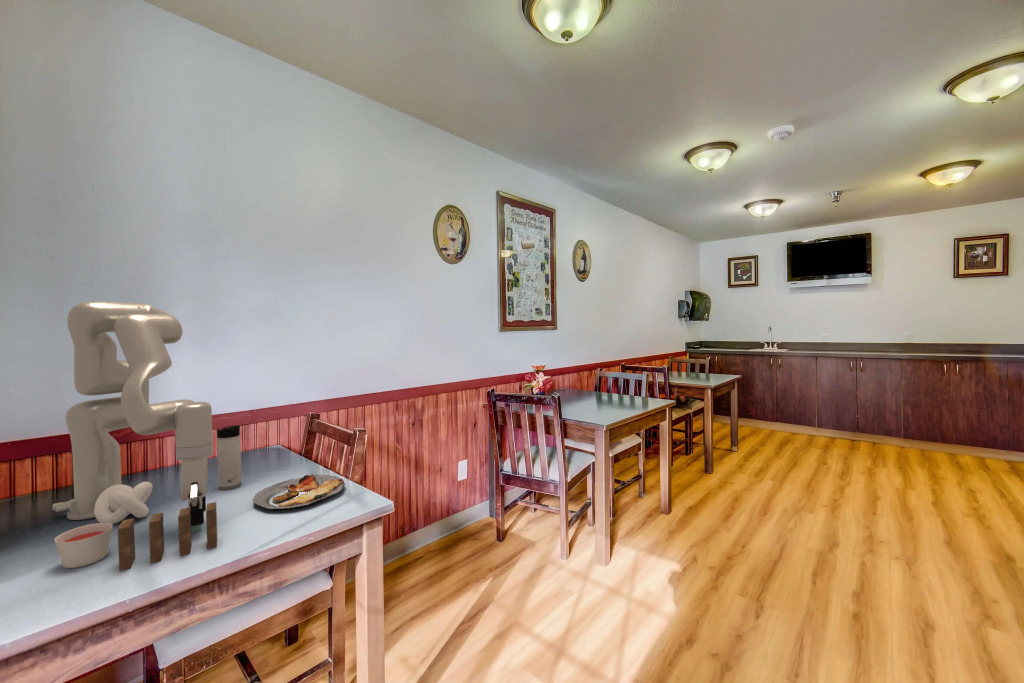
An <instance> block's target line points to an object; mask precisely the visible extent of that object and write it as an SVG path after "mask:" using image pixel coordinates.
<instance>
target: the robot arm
mask: <svg viewBox="0 0 1024 683" xmlns="http://www.w3.org/2000/svg"><path fill="white" fill-rule="evenodd" d="M66 320H67V321H66V323H67V329H68V332H69V335H70V338H71V340H72V344H73V352H74V353H73V382H74V384H73V385H74V388H75V390H76V392H77V393H79V394H80V395H83V396H87V397H88V396H100V395H101V396H103V395H111V394H119V393H121V394H120V396H116V397H106V398H98V399H90V400H86V401H81V402H79V403H75V404H74V405H72V406H70V407H69V408H68V409H67V410H66V412H65V413H66V414H65V422H66V427H67V430H68V433H69V437H70V442H71V452H72V472H73V474H72V475H73V476H72V477H73V494H74V498H72V499H69V501H61V502H56V503H53V504H52V505H51V506H52V511H53V512H54V511H55V512H56V513H58V512H63V511H67V510H68V512H67V513H66V518H67V519H68V520H70V521H71V520H74V521H80V520H82V521H83V520H89V519H96V517H95V514H94V507H95V503H96V501H97V499H98V497H99V496H100V494H101V493H102V492H103V491H104V490H106V489H107V488H109V487H111V486H114V485H119V484H122V468H121V467H122V466H121V465H122V464H121V462H122V461H121V448H120V443H119V442H118V441H117V439H116V438H114V437H113V436H112V435H111V434H110V432H113V431H118V430H122V429H127V428H131V430H132V431H133V432H134V433H136V434H137V435H140V436H152V435H155V434H161V433H164V432H170V431H174V434H175V437H174V438H175V460H176V461H178V462H181V464H180V500H181V501H182V502H185V501H186V500H187V508H188V507H190V513H191V528H192V526H196V525H201V524H202V525H203V524H205V513H206V507H207V502H206V501H207V500H206V499H207V498H206V494H207V490H208V489H207V488H208V478H209V461H208V458H209V457H211V456H213V455H214V446H213V444H214V441H213V440H214V438H213V437H214V436H213V413H212V412H213V411H212V405H211V404H210V403H209V402H207V401H194V400H190V399H184V398H183V399H176V400H171V401H162V402H157V403H150V379H152V378H155V377H156V376H158V375H160V374H163V373H164V372H167V370H169V369H170V368H171V367H172V364H173V362H172V359H171V356H170V354H169V352H168V349H167V348H166V345H168V344H171V345H172V344H175V343H177V342H179V341H180V340H181V339H182V336H183V327H182V324H181V322H180V321H179V319H178V318H177V317H176V316H174V315H173V314H171V313H170V312H167V311H164V310H163V309H161V308H158V307H155V306H153V305H150V304H147V303H137V302H120V301H105V300H103V301H101V300H99V301H98V300H97V301H95V300H94V301H93V300H92V301H84V302H83V301H82V302H79V303H76V304H75V305H74V306H72V307H71V309H69V312H68V314H67V319H66ZM108 333H115V336H116V338H117V340H118V343H119V346H120V348H121V350H122V353H123V354H124V355H123V356H124V358H125V359H118V356H117V353H118V347H117V344H116V342H115V340H114V339H113V338H112V337H111V336H110V335H109V334H108ZM199 494H200V496H197V495H199ZM197 500H198V501H197ZM109 508H110V511H111V512H112V513H113V511H112V510H111V507H110V506H109ZM204 512H205V513H204Z"/></svg>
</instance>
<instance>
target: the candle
mask: <svg viewBox="0 0 1024 683" xmlns="http://www.w3.org/2000/svg"><path fill="white" fill-rule="evenodd" d="M113 527H114V524H111V523H100V522H98V523H97V522H96V523H90V524H87V525H82V526H79V527H75V528H73V529H69V530H67V531H64V532H62V533H61V534H58V535H57V536H56V537H55V538H54V543H55V544H54V545H55V547H56V550H57V552H58V553H57V554H58V557H59V558H60V561H61V564H62V567H63V568H66V569H74V568H75V569H76V568H81V567H85V566H88V565H91V564H93V563H96V562H98V561H101V560H102V559H104V558H106V557H107V555H108V552H109V549H110V542H111V539H112V538H111V536H112V531H113Z"/></svg>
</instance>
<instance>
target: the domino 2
mask: <svg viewBox="0 0 1024 683" xmlns="http://www.w3.org/2000/svg"><path fill="white" fill-rule="evenodd" d="M148 530H149V531H148V534H149V560H150V561H149V562H150V564H154V563H157V562H162V559H163V557H164V553H165V534H164V512H158V513H153V514H151V518H150V519H149V522H148Z"/></svg>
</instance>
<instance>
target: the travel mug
mask: <svg viewBox="0 0 1024 683" xmlns="http://www.w3.org/2000/svg"><path fill="white" fill-rule="evenodd" d="M240 428H241V425H240V424H237V425H230V426H224V427H221V428H220V429H216V445H217V446H216V447H217V448H216V449H217V450H216V451H217V453H216V454H217V456H216V458H217V482H218V490H220V491H228V490H233V489H236V488H237V489H238V487H241V485H242V483H243V482H242V481H243V480H242V479H243V478H242V456H241V455H242V453H241V452H242V449H241V429H240Z"/></svg>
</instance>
